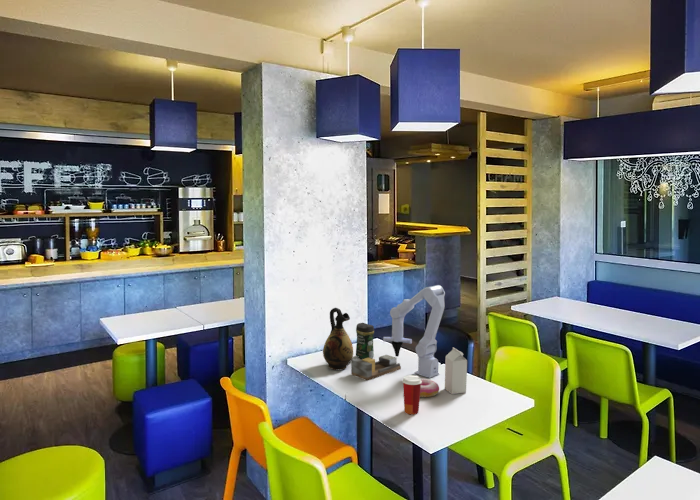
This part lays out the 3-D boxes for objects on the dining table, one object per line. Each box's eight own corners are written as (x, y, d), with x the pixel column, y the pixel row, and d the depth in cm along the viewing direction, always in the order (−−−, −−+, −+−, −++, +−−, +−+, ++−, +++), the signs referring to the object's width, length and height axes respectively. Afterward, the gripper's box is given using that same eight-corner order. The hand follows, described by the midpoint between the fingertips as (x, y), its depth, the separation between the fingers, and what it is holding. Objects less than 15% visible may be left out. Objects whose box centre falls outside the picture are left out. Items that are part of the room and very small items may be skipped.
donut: (402, 389, 231) (402, 379, 231) (428, 385, 236) (429, 375, 235) (416, 400, 219) (417, 389, 218) (444, 396, 223) (444, 385, 223)
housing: (375, 371, 250) (375, 359, 249) (368, 373, 247) (368, 361, 246) (368, 369, 253) (368, 357, 252) (361, 371, 250) (362, 359, 249)
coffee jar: (353, 356, 277) (353, 323, 276) (363, 353, 283) (364, 320, 281) (365, 361, 270) (365, 326, 268) (376, 358, 276) (376, 324, 274)
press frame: (400, 369, 258) (401, 354, 257) (367, 380, 242) (367, 365, 241) (384, 363, 266) (384, 349, 265) (351, 374, 250) (351, 359, 249)
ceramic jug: (359, 366, 261) (360, 309, 258) (338, 374, 250) (338, 314, 247) (336, 359, 273) (336, 304, 270) (314, 366, 262) (314, 308, 258)
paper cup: (419, 407, 211) (420, 374, 210) (422, 415, 204) (423, 381, 202) (400, 407, 211) (400, 374, 209) (402, 415, 203) (403, 381, 202)
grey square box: (396, 365, 259) (396, 357, 258) (389, 367, 255) (389, 360, 254) (386, 361, 264) (386, 354, 263) (378, 364, 260) (378, 356, 260)
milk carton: (451, 394, 226) (452, 352, 224) (444, 388, 232) (445, 347, 230) (466, 392, 227) (467, 351, 225) (458, 387, 234) (459, 346, 232)
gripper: (382, 330, 261) (381, 356, 262) (410, 333, 257) (410, 359, 258) (384, 327, 267) (384, 352, 269) (412, 329, 264) (412, 355, 265)
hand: (397, 355), depth 264 cm, fingers closed
